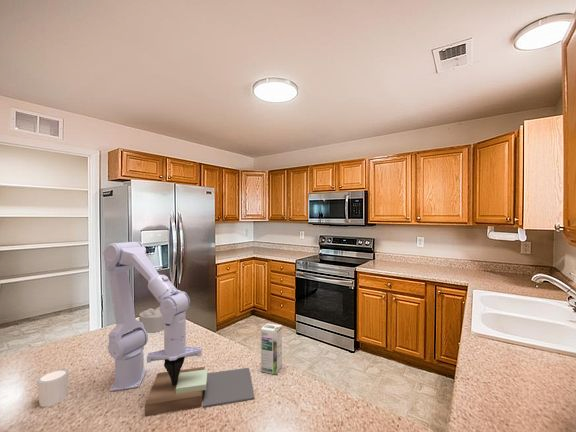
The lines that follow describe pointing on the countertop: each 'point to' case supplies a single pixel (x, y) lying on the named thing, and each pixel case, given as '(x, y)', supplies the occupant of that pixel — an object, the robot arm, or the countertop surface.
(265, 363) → the syrup box
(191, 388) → the coaster
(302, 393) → the countertop surface
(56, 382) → the white cylinder
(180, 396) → the walnut board
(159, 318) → the lumpy-topped squat cylinder
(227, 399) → the rubber mat
